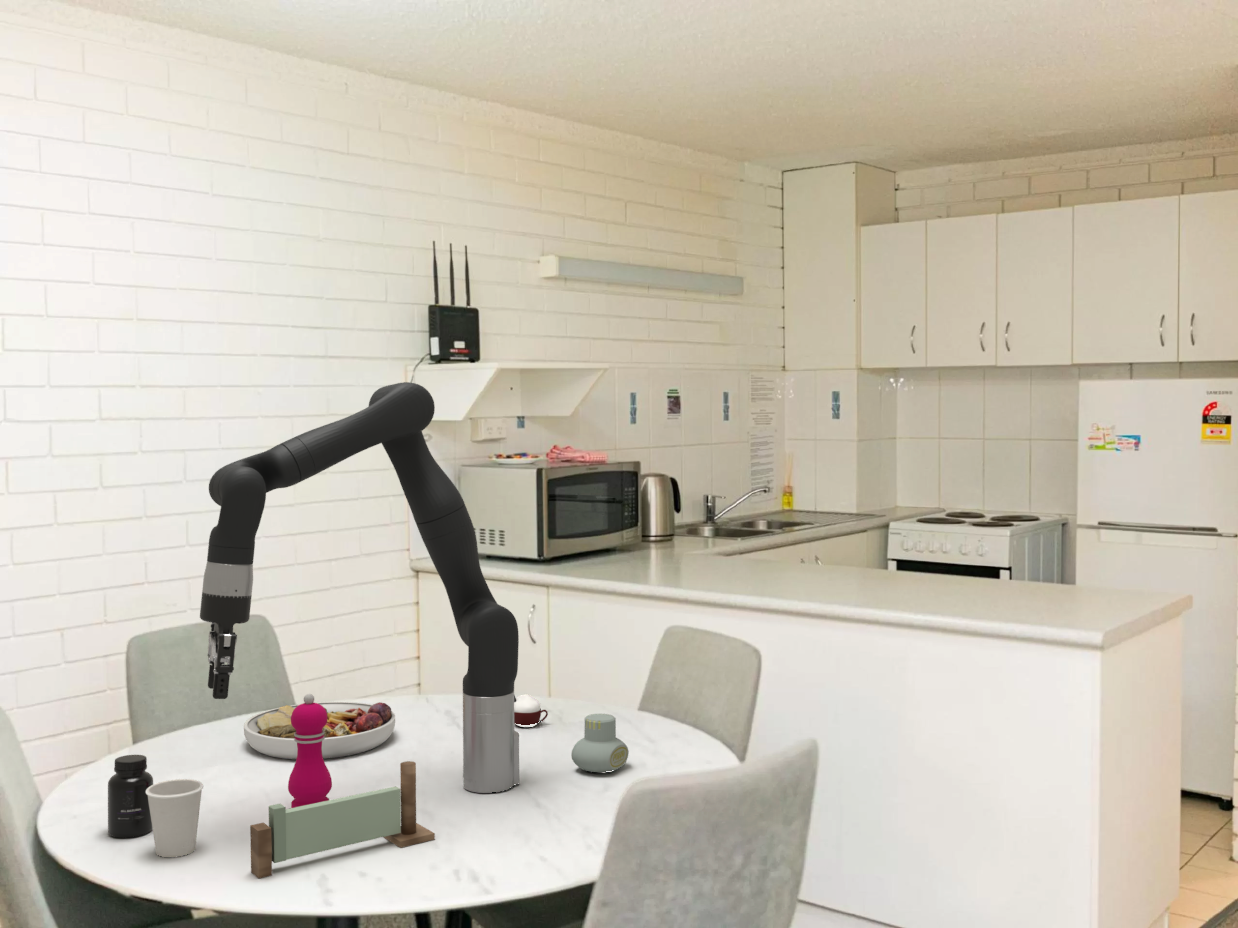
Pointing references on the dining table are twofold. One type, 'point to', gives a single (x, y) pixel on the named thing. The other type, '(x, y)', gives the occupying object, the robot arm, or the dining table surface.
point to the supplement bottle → (129, 798)
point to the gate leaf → (333, 823)
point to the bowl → (344, 729)
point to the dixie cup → (175, 815)
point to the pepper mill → (309, 755)
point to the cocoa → (527, 710)
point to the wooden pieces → (407, 837)
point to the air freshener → (600, 745)
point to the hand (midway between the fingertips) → (217, 693)
